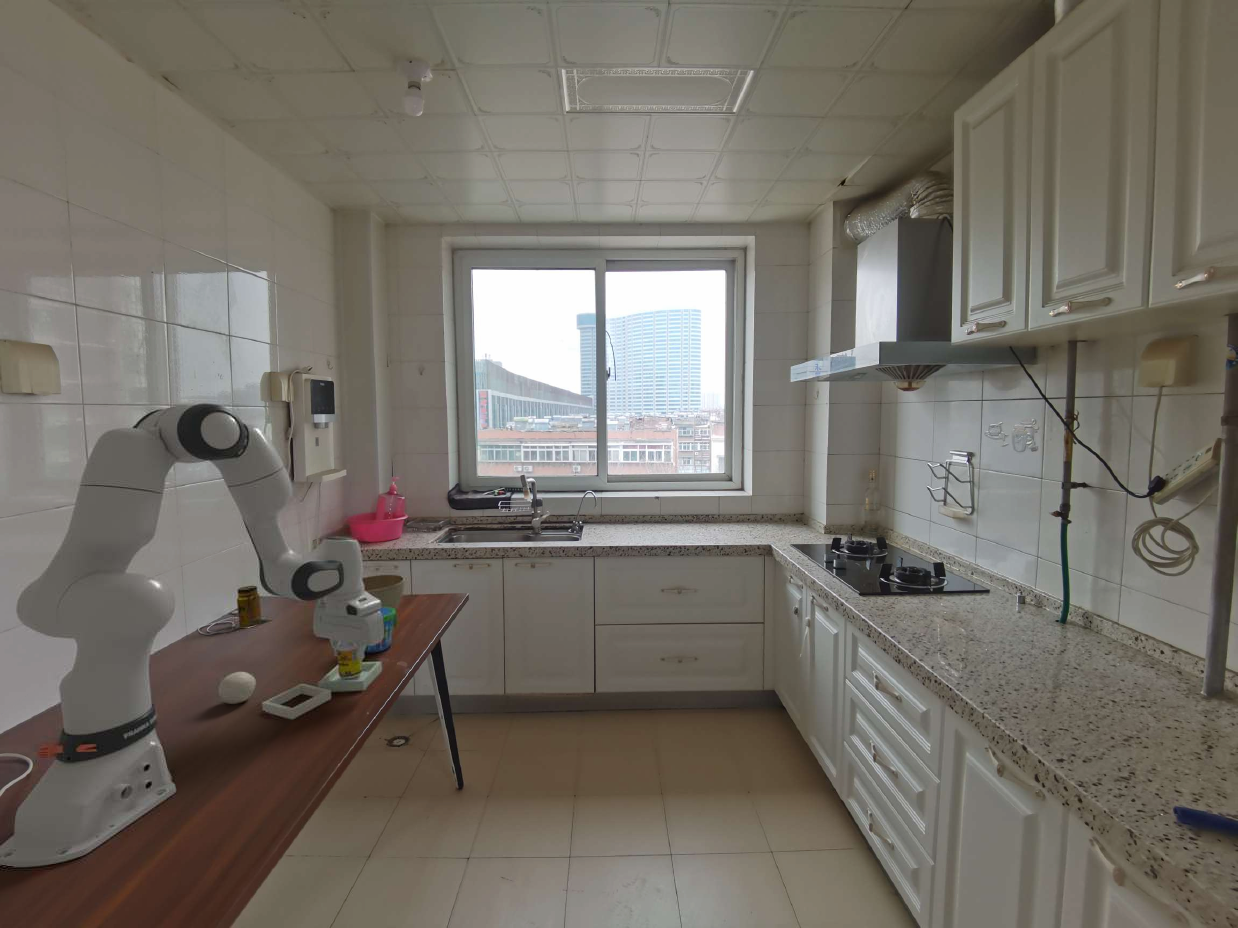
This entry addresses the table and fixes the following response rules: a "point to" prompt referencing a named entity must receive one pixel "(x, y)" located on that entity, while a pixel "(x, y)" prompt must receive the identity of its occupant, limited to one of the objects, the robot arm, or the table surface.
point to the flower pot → (385, 589)
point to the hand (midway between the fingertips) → (349, 657)
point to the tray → (352, 684)
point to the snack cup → (385, 630)
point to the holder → (318, 698)
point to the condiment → (249, 607)
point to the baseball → (236, 687)
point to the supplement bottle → (348, 660)
